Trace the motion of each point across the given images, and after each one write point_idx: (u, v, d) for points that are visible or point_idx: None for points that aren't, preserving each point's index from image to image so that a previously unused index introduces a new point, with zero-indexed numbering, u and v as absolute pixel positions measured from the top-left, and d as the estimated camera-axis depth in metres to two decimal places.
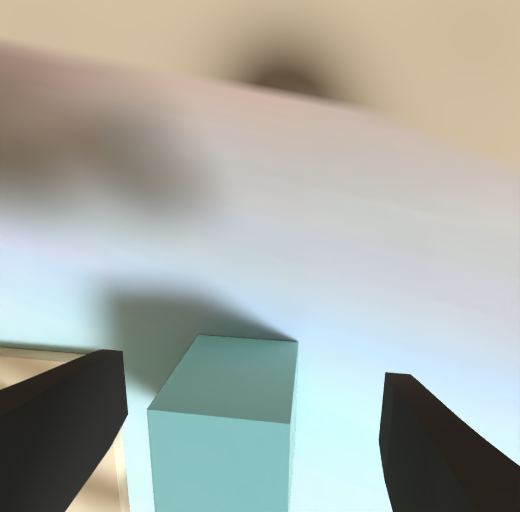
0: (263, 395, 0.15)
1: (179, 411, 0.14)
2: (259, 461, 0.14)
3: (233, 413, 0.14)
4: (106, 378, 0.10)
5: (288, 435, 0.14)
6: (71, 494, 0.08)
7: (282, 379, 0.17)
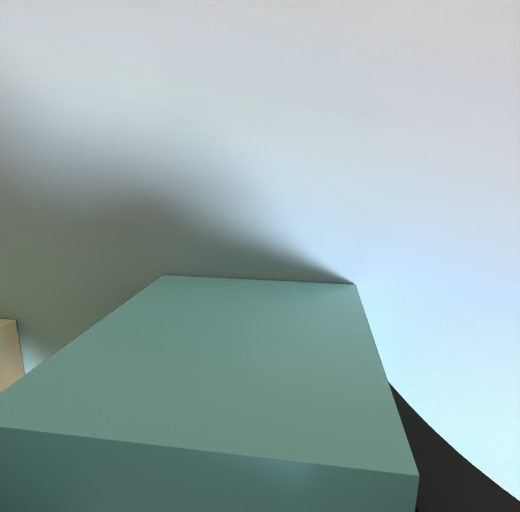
0: (308, 382, 0.06)
1: (58, 428, 0.05)
2: None
3: (225, 434, 0.05)
4: None
5: None
6: None
7: (346, 346, 0.07)
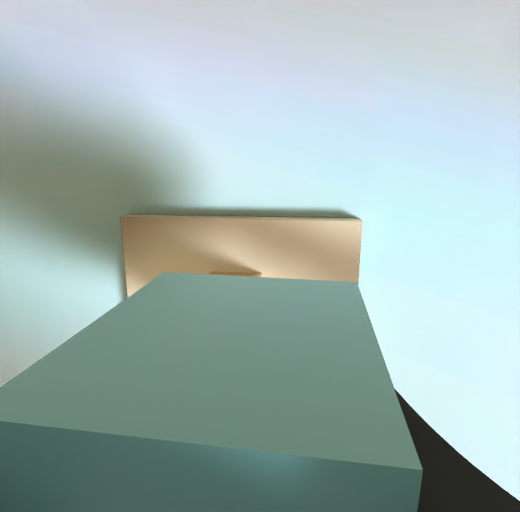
0: (310, 378, 0.06)
1: (59, 422, 0.05)
2: None
3: (228, 429, 0.05)
4: None
5: (411, 506, 0.04)
6: None
7: (348, 342, 0.07)
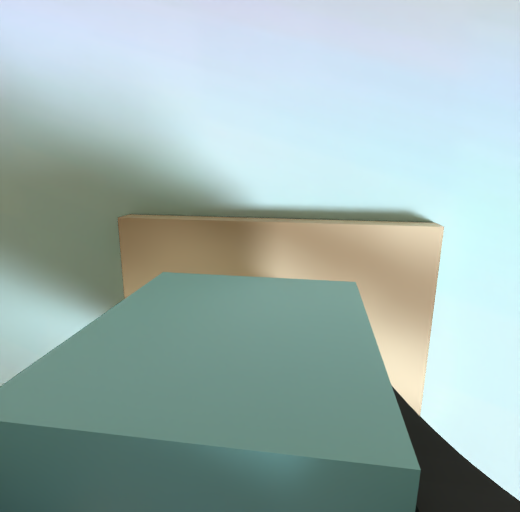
0: (308, 378, 0.06)
1: (57, 422, 0.05)
2: None
3: (225, 428, 0.05)
4: None
5: (409, 506, 0.04)
6: None
7: (346, 342, 0.07)
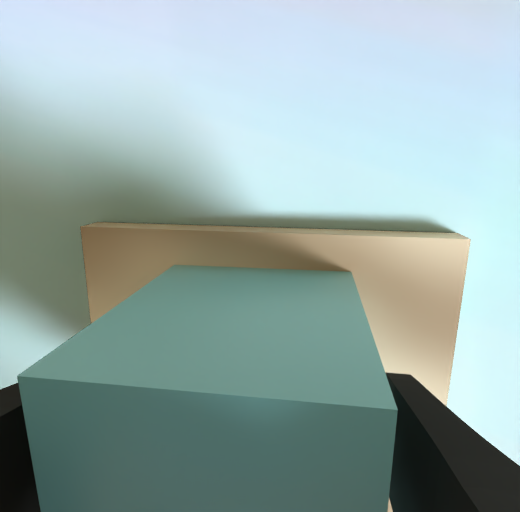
0: (307, 347, 0.07)
1: (99, 380, 0.06)
2: (306, 509, 0.06)
3: (239, 383, 0.05)
4: None
5: (389, 441, 0.05)
6: None
7: (341, 320, 0.08)
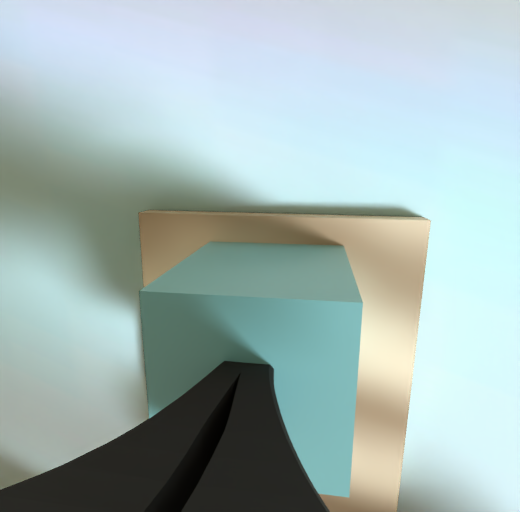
0: (312, 280, 0.10)
1: (188, 293, 0.10)
2: (311, 368, 0.09)
3: (271, 293, 0.09)
4: None
5: (358, 322, 0.09)
6: None
7: (334, 269, 0.12)
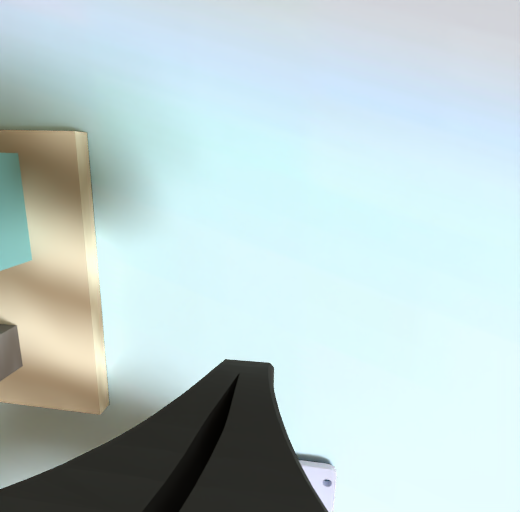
0: None
1: None
2: None
3: None
4: None
5: None
6: None
7: None
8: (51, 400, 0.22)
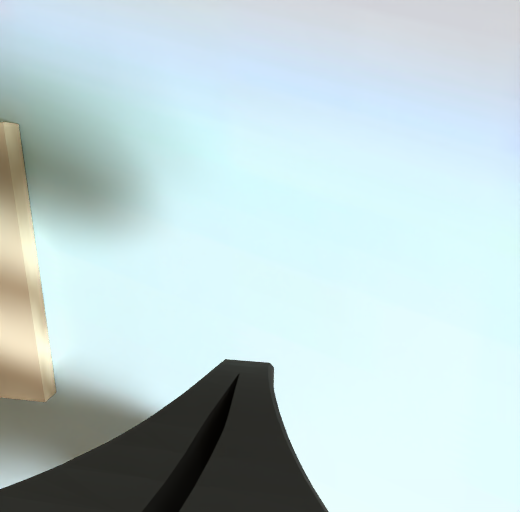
0: None
1: None
2: None
3: None
4: None
5: None
6: None
7: None
8: None
